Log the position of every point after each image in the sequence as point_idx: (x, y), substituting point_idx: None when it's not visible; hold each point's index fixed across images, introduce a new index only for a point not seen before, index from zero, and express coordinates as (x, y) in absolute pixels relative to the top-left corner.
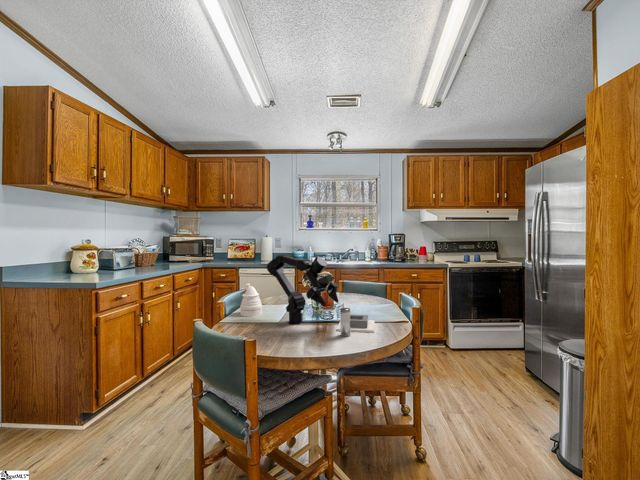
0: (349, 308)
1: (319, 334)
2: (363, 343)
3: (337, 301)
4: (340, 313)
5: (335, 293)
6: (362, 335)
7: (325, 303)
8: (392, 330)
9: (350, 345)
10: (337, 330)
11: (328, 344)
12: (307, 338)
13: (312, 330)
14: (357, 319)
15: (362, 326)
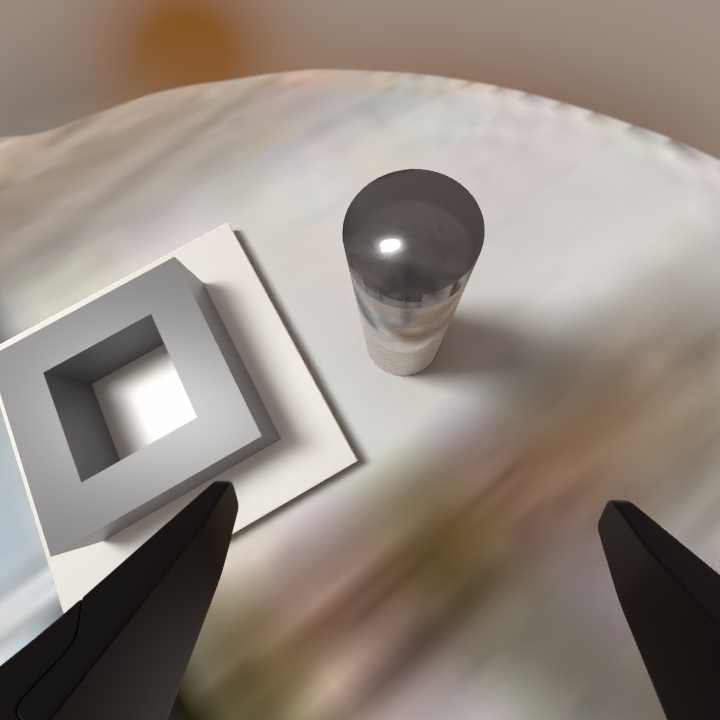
0: (354, 201)
1: (523, 522)
2: (455, 168)
3: (229, 498)
4: (454, 300)
5: (41, 674)
6: (329, 253)
7: (638, 525)
8: (130, 170)
9: (541, 202)
10: (354, 454)
11: (638, 316)
12: None
13: (483, 661)
14: (170, 348)
15: (212, 306)
